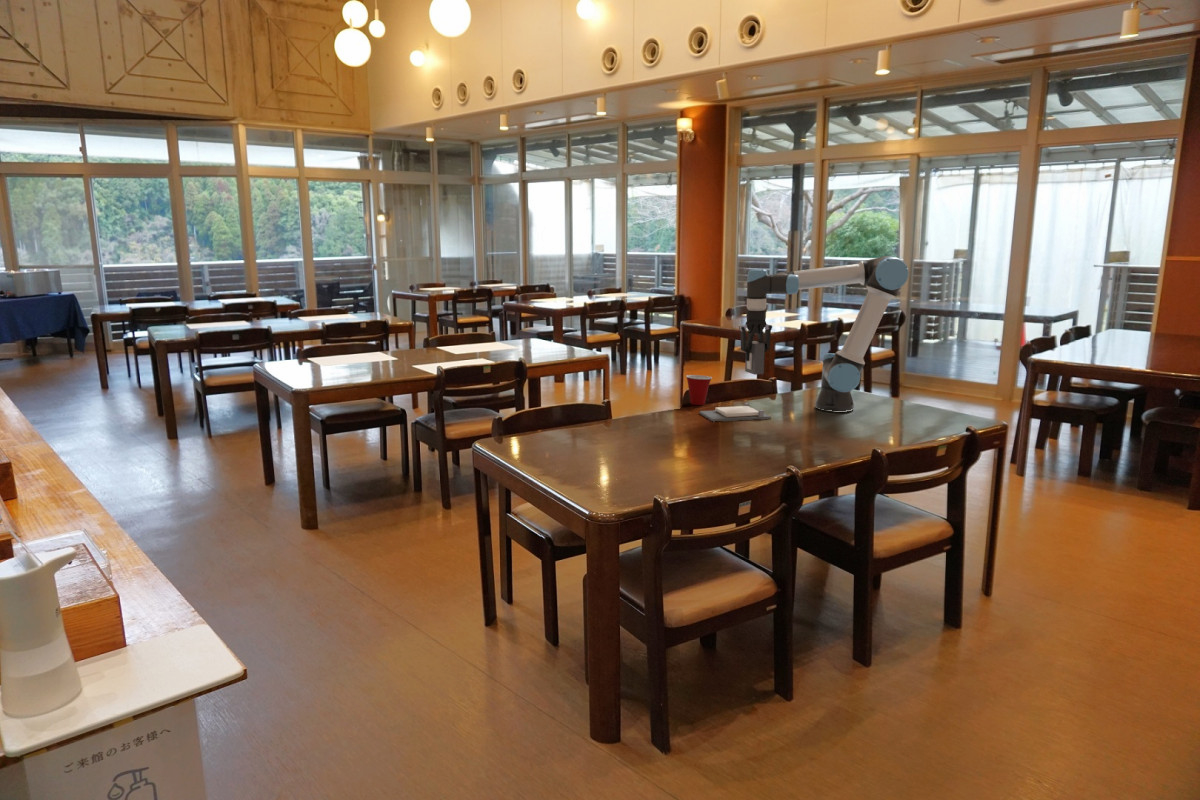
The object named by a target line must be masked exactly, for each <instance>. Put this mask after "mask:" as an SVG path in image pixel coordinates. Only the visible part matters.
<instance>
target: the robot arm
mask: <svg viewBox="0 0 1200 800" xmlns="http://www.w3.org/2000/svg"><path fill="white" fill-rule="evenodd" d="M909 273H910V272H909V268H908V265H907V264H906V263H905V261H904V260H902V259H900V258H899V257H896V256H887V255H884V256H883V255H882V256H880V257H876V258H875V257H874V258H872V259H867V260H860V262H858V263H853V264H846V265H837V266H827V267H818V268H809V269H801V270H794V271H779V272H776V273H775V274H769V273H768V270H767V269H763V268H762V269H761V268H759V269H758V268H757V269H749V271H748V272H747V278H746V279H747V280H746V309H747V310H746V317H745V318H746V319H745V320H746V322H745V324H744V325H742V326H741V325H740V326H738V329H739V332H740V351H742V352H744V354H745V355H744V356H745V358H744V359H745V360H746V361H747V369H752V353H750V351H751V346H752V341H754V337H755V334H756V335H757V336H756V337H757V340H758V341H757V342H761V343H764V344H765V349H764V360H765V354H766V353H767V351H770V349H771V348H770V346H771V331H772V330H773V325H770V324H768V323H767V322H766V317H767V310H766V309H767V295H797V294H798V293H799V290H807V289H816V288H827V287H835V286H837V287H838V286H844V285H845V286H847V285H855V284H860V285H862V286H865V287H866V290H867V294H866V295H865V298H864V300H863V302H862V305H861V307H860V309H859V312H858V314H857V315H856V317H855V320H854V322H853V323H852V327H851V329H850V330H849V333H848V335H847V337H846V340H845V342H844V344H843V346H842V348H841V349H840V350H837V351H836V352H835V353H830V352H829V353H824V354H823V357H822V358H823V359H822V370H821V381H820V382H821V383H820V384H821V385H820V391H819V394H818V395H817V398H816V400H815V406H816V407H817V408H820V409H824V410H832V411H846V410H851V409H853V408H854V400H853V395H852V392H851V391H853V390H855V389H856V388H857V387H858V386H859V385H860V381H861V373H862V371H863V369H864V366H865V364H866V362H865V359H864V357H865V355H866V352H867V350H868V349H869V346H870V345H871V342H872V339H873V337H874V336H875V333H876V331H877V329H878V327H879V325H880V322H881V320H882V318H883V316H884V314H885V312H886V310H887V308H888V306H889V303H890V301H891V300H893V299H895V298H897V296H898V294H899V292H900V289H901V288H902V287H904V285H906V282H907V281H908V279H909ZM747 330H748V331H747ZM746 341H747V342H746ZM815 406H814V407H815ZM853 410H854V409H853Z"/></svg>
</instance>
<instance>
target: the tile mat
mask: <svg viewBox="0 0 1200 800" xmlns="http://www.w3.org/2000/svg"><path fill="white" fill-rule="evenodd" d="M743 406H749V407H750V402H744V405H743ZM754 409H755V410H757V411H759V414H758V416H741V417H726V416H724V415H722V414H721V413H719V412H717V411H715V409H714V410H700V411H699V414H700V415H701V416H703V417H704V418H706V419H707V418H708V419H707V420H709V421H711V422H712V421H713V422H712V423H715V421H723V422H735V421H736V422H737V421H738V420H742V421H754V420H753V419H761V420H768V419H767V418H771V419H772V416H771V415H769V414H767V413H765V410H763V409H757V408H754Z"/></svg>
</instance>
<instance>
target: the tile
mask: <svg viewBox="0 0 1200 800" xmlns="http://www.w3.org/2000/svg"><path fill="white" fill-rule="evenodd" d="M755 409H756V408H753V407H750V405H749V406H744V405H740V406H738V405H737V406H720V407H719V406H718V407H716V406H715V409H714V410H715V411H717V412H719V413H721V414H722V415H724V416H726V417H741V416H758V414H759V411H757V410H758V409H757V410H755Z"/></svg>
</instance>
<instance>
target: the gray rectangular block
mask: <svg viewBox="0 0 1200 800" xmlns="http://www.w3.org/2000/svg"><path fill="white" fill-rule="evenodd" d="M746 342H747V340H746ZM764 349H765V344H764V343H761V342H758V341H757V340H753V341H752V346H751V351H750V353H752V369H747V361H746V360H745V365H744V371H745V372H746V373H749V374H752V375H764V373H765V359H764Z"/></svg>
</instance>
